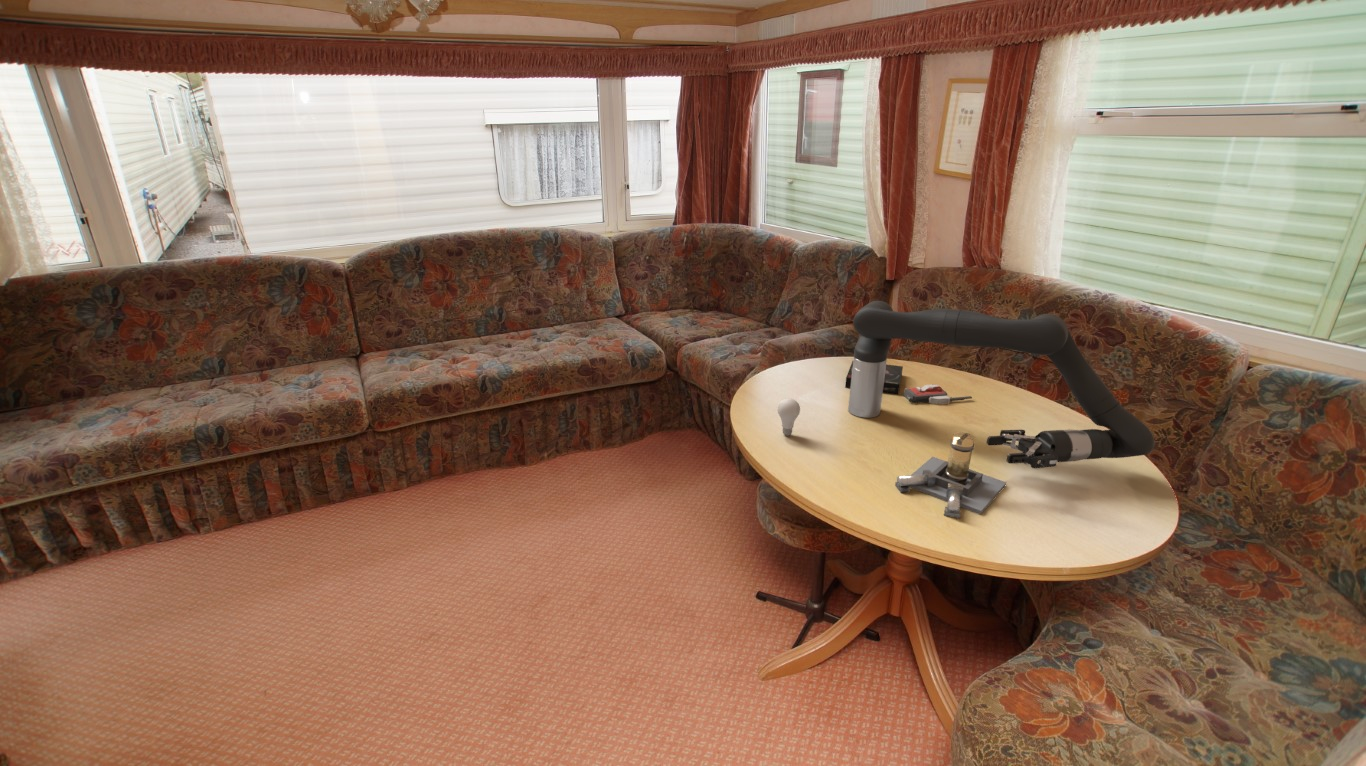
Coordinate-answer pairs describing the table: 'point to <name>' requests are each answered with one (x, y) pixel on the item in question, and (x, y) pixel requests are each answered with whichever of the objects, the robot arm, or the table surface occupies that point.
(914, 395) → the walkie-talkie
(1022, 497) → the table surface
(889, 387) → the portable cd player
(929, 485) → the shaft
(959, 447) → the gold cylindrical piece
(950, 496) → the shaft
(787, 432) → the lightbulb
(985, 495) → the stand
